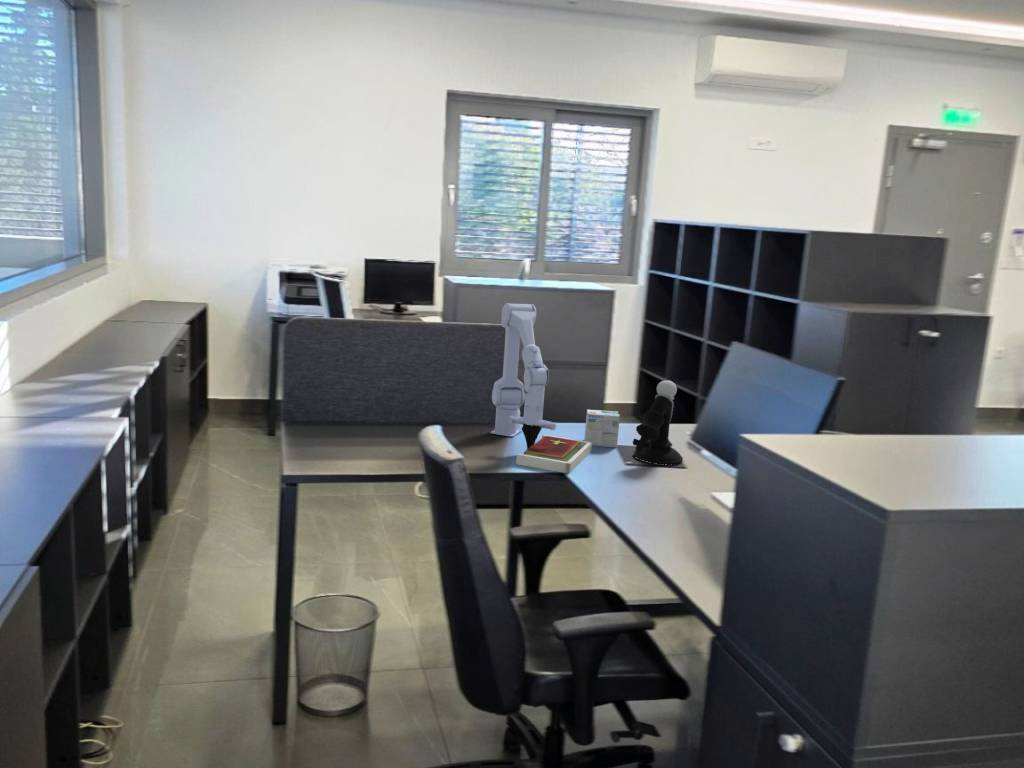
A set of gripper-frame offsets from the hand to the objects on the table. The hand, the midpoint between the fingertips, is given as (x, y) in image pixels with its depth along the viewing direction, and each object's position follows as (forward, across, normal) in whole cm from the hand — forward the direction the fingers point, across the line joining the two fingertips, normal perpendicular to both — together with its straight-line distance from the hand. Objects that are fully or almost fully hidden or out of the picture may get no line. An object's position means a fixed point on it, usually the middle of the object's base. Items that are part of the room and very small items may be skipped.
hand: (530, 448), depth 264 cm
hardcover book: (+2, +7, 0) cm, 7 cm away
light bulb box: (+2, +16, +24) cm, 29 cm away
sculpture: (+2, +36, +14) cm, 38 cm away
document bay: (+1, +8, 0) cm, 8 cm away
